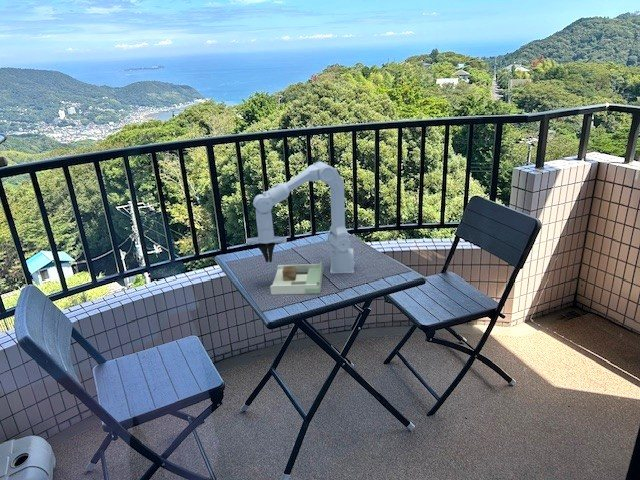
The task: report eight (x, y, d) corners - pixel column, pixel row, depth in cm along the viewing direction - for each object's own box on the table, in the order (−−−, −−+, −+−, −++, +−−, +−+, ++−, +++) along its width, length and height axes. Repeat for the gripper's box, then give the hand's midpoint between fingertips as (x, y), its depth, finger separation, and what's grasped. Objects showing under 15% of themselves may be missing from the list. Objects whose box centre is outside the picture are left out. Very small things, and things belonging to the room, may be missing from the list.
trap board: (322, 271, 176) (322, 261, 174) (320, 293, 159) (319, 282, 158) (278, 273, 178) (277, 262, 176) (271, 294, 161) (269, 283, 159)
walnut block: (296, 275, 170) (295, 266, 168) (295, 280, 166) (294, 271, 164) (284, 275, 170) (284, 266, 169) (283, 281, 166) (282, 271, 165)
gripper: (286, 222, 164) (289, 256, 169) (248, 224, 165) (252, 257, 170) (283, 229, 158) (287, 263, 162) (243, 230, 159) (248, 265, 164)
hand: (269, 261), depth 166 cm, fingers closed
